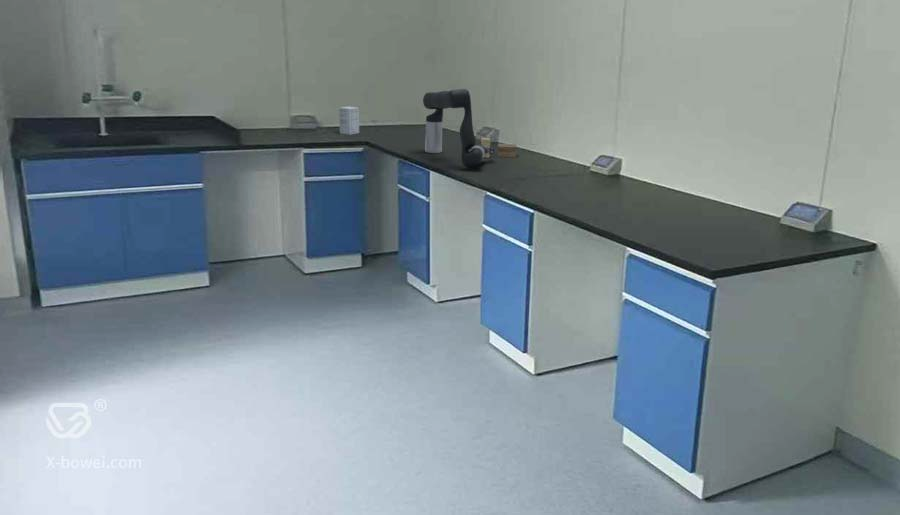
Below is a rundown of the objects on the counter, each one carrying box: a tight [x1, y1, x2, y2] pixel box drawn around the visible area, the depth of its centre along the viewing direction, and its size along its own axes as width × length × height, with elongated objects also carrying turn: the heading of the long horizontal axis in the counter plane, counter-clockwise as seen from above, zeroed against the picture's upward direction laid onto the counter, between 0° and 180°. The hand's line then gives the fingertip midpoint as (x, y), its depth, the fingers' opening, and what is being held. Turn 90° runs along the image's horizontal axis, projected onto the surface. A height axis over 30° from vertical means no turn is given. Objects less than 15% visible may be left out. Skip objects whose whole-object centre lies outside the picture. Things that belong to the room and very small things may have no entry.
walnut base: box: [497, 143, 517, 158], centre depth 414 cm, size 10×10×6 cm
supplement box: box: [338, 106, 360, 136], centre depth 482 cm, size 10×9×17 cm
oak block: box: [480, 137, 492, 159], centre depth 408 cm, size 4×4×10 cm
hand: (482, 148), depth 400 cm, fingers open, 8 cm apart
